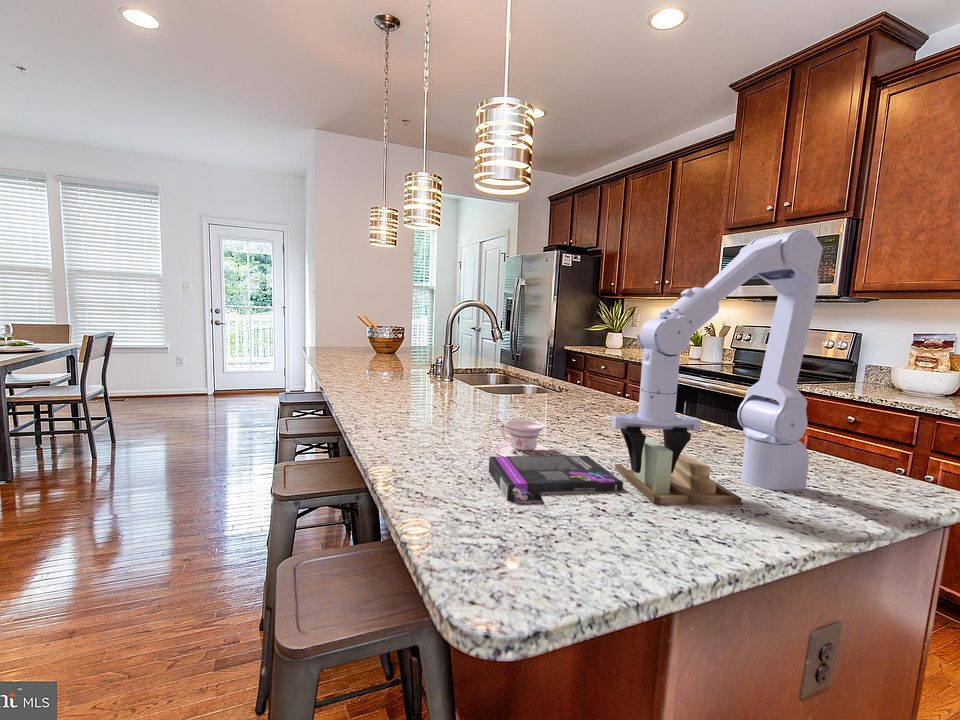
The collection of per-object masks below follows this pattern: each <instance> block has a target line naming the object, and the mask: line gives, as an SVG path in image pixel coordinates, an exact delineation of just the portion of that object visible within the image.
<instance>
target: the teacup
mask: <svg viewBox="0 0 960 720" xmlns="http://www.w3.org/2000/svg"><path fill="white" fill-rule="evenodd" d="M545 427H546V425H545V424H544V423H542V422H539V421H536V420H535V421H534V420H529V419H527V420H525V419H511V420H505V421H504V424H502V425H500V428H501V429H500V430H501V434H502V437H503V438H504V440H505V441H506V442H507V443H505V442H504V443H501V444H498V445H496V446H494V452H495V454H496V455H498V456H499V457H501V456H519V455H518V454H515V453H517V452H516V451H522V452H525V451H526V452H527V451H528V452H529V451H535V450H536V451H538V450H539V451H550V449H549V448H547V447H545V446H542V445H539V444H537V439H538V437H539V436H540V432H542V430H543V428H545ZM504 429H506V430H507V431H509V432H508V433H509V435H510V439H509V438H508V437H507V436H506V434H505V432H504ZM512 451H514V452H515V453H514V452H512Z"/></svg>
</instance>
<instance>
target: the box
mask: <svg viewBox="0 0 960 720" xmlns="http://www.w3.org/2000/svg"><path fill="white" fill-rule="evenodd" d="M488 473H489V474H490V476H491V477H492V479H493V480H494V482H495V483H496V485H497V487H498V488H499V489H500V491H501V493H502V495H503V496H504V498H505V499H506V501H509V502H510V501H536V500H541V501H542V500H543V498H542V496H541V495H540V494H563V493H564V494H565V493H589V492H590V493H593V492H596V493H598V492H621V491H622V492H623V491H624V490H623V489H624V481H623V480H621V479H619V478H618V477H616V476H615V475H614V474H612V473H611V472H610V471H608V470H607V469H606V468H604V467H603V466H602V465H600V464H599V463H598V462H597V461H595V460H593V459H592V458H591V457H590V456H589V455H521V456H520V455H518V456H500V455H498V456H489V458H488Z"/></svg>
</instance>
